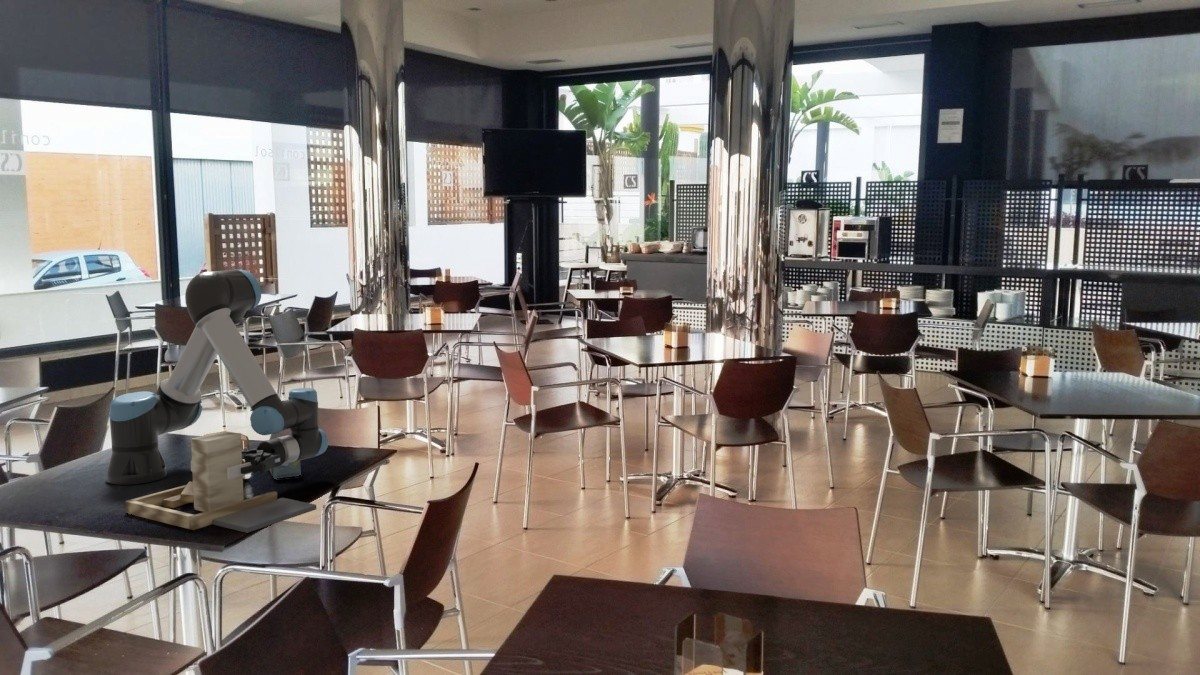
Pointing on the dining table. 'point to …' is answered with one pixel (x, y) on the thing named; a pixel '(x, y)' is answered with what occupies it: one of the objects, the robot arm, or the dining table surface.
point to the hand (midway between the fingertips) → (209, 469)
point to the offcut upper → (187, 493)
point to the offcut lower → (173, 501)
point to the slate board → (264, 515)
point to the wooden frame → (151, 510)
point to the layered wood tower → (216, 470)
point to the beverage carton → (286, 470)
